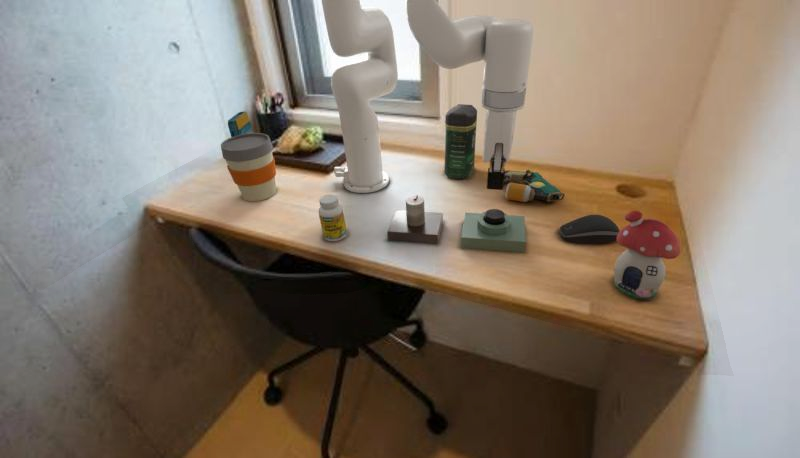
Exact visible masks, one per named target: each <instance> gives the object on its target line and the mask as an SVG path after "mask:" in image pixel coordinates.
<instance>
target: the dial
mask: <svg viewBox="0 0 800 458" xmlns="http://www.w3.org/2000/svg"><path fill="white" fill-rule="evenodd" d="M405 211H406V216H407V224H408V225H410V226H421V225H423V224H424V222H425V212H426V211H425V199H424V198H423V196H420V195H418V194H414V195H411V196H408V197H407V198H406V199H405Z"/></svg>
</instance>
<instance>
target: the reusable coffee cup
mask: <svg viewBox="0 0 800 458" xmlns="http://www.w3.org/2000/svg"><path fill="white" fill-rule="evenodd" d="M220 147H221V148H220V149H221V154H222V158H223V159H224V160H225V161H226V163H227V166H226V167H227V170H228V172H229V175H230V177H231V178H232V181H233V183H234V184H235V185H237V188H238V190H239V193H240V194H241V196H242V198H243V199H244V200H245V201H248V202H259V201H260V202H261V201H264V200H267V199H270V198H272V197H273V196H275V194H276V193H277V184H276V175H277V170H276V160H275V156H274V155H273V150H274V145H273V143H272V141H271V137H270V136H269V135H268V134H266V133H262V132H254V133H247V134H241V135H237V136H234V137H231V136H230V137H228V138H227V139H225V140H224V141H222V143H221V144H220Z"/></svg>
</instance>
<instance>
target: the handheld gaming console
mask: <svg viewBox="0 0 800 458" xmlns="http://www.w3.org/2000/svg"><path fill="white" fill-rule="evenodd" d="M227 128H228V131H229V135H230V138H231V137H234V136H237V135H241V134H247V133H255V131H254V128H253V125H252V122H251V121H250V117H249V115H248V112H247V111H239V112H237V113H236V114H234V115H233V116H232V117H230V118H229V119H228V120H227Z"/></svg>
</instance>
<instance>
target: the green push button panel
mask: <svg viewBox="0 0 800 458" xmlns="http://www.w3.org/2000/svg"><path fill="white" fill-rule="evenodd" d="M485 212H486V211H483V212H482V213H479V212H464V216H463V217H464V218H463V225H462V230H461V236H460V248H461V249H463V248H464V249H475V250H488V251H499V252H500V251H502V252H513V253H526V248H527V247H526V246H527V235H526V234H527V233H526V219H525V215H513V214H507V213H505V212H504V214H505V216H504V223H503V224H501V225H490V224H487V223H486V222H485Z"/></svg>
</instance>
